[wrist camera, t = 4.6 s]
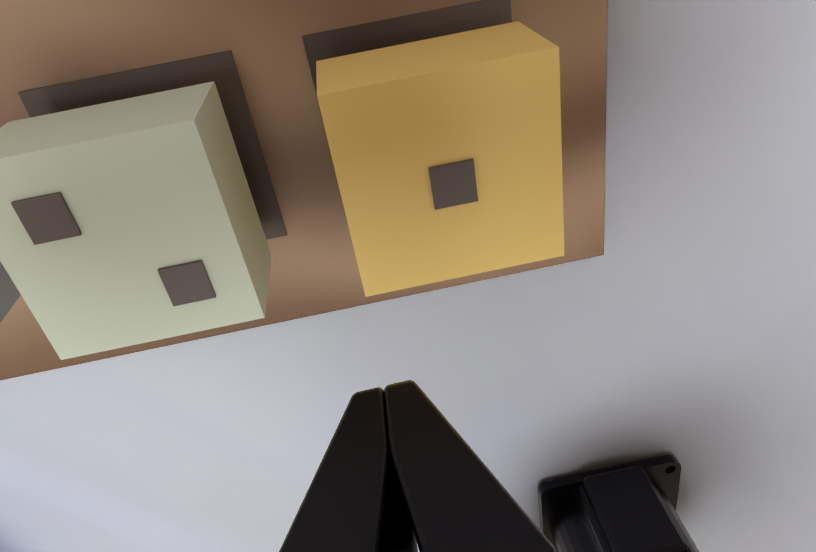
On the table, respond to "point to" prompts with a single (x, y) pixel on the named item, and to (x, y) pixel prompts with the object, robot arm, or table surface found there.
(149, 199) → the sage tile
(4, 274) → the slate tile
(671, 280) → the table surface
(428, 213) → the mustard tile
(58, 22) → the button board
